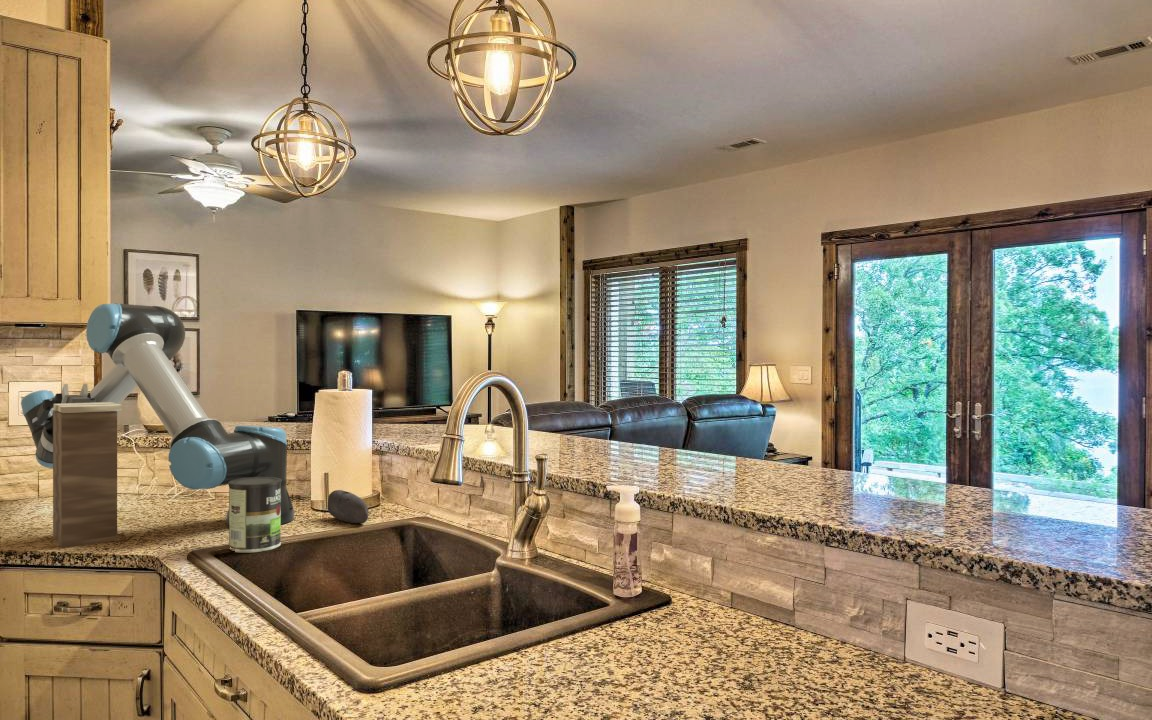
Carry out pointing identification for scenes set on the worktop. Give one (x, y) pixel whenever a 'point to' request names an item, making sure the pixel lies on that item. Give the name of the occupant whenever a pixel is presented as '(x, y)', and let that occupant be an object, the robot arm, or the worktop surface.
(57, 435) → the upright wooden block
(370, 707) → the worktop surface
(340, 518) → the dark grey stone
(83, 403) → the lid
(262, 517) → the coffee can
